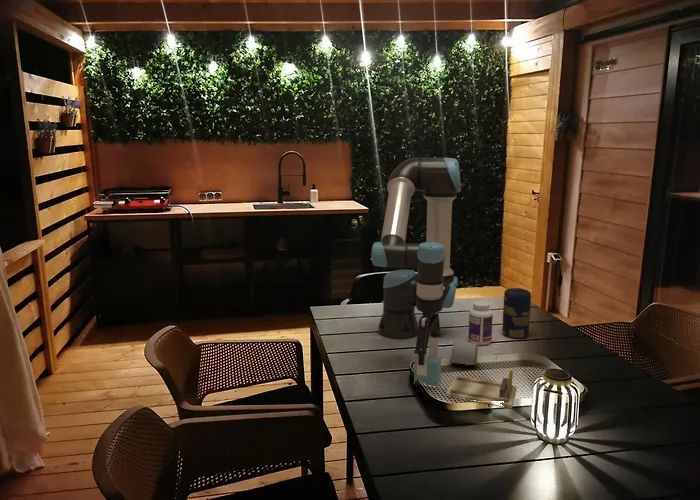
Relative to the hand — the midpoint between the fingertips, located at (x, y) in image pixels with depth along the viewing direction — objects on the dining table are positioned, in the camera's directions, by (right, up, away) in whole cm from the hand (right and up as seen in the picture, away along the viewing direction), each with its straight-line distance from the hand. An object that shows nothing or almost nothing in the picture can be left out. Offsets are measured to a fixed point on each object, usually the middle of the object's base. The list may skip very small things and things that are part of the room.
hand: (427, 366), depth 163 cm
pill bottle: (+24, +1, +35) cm, 42 cm away
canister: (+38, +3, +41) cm, 56 cm away
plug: (0, -6, +2) cm, 6 cm away
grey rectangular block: (+14, -3, +17) cm, 23 cm away
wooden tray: (+15, -7, -4) cm, 17 cm away
